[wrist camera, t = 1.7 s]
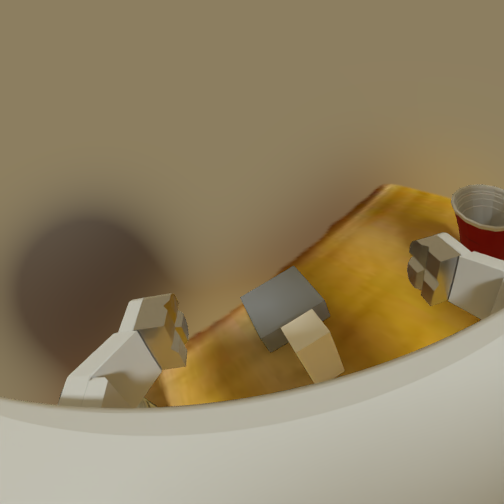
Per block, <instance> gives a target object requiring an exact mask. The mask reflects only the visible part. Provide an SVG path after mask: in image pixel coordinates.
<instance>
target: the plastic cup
mask: <svg viewBox="0 0 504 504" xmlns="http://www.w3.org/2000/svg"><path fill="white" fill-rule="evenodd" d="M451 204H452V207H453V209H454V211H455V214H456V217H457V223H458V227H459V233H460V241H461V244H462V245H463V246H465V247H466V248H467V249H468V250H470V251H471V252H473V251H475V252H478V253H481V254H485V255H488V256H491V257H494V258H497V259H500V260H503V261H504V190H502V189H500V188H497V187H495V186H488V185H469V186H466V187H463V188H460V189H459V190H457V191H456V192H455V193H454V194H453V196H452V200H451Z"/></svg>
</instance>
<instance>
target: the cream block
mask: <svg viewBox="0 0 504 504" xmlns="http://www.w3.org/2000/svg"><path fill="white" fill-rule="evenodd" d="M281 330H282V331H283V333H284V335H285V336H286V338H287V340H288V341H289V343H290V345H291V346H292V348H293V350H294V351H295V353H296V354H297V356H298V358H299V359H300V361H301V363H302V364H303V366H304V368H305V369H306V371H307V373H308V374H309V376H310V377H311V379H312V381H313V382H314V384H315V383H319V382H323V381H327V380H330V379H333V378H335V377H336V376H338V375H340V374H341V373H343V372H344V371H345V370H344V367H343V364H342V362H341V359H340V356H339V354H338V351H337V348H336V346H335V343H334V341H333V338H332V335H331V333H330V331H329V330H328V328H327V327H326V326H325V325H324V323H323V322H322V321H321V319H320V318H319V317H318V316H317V314H316V313H315V312H314V311H313V309H311V310H309V311H307V312H306V313H304V314H303V315H301V316H299V317H298V318H296V319H294V320H293V321H291V322H289V323H288V324H286V325H284V326H283V327H281Z"/></svg>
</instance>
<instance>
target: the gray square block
mask: <svg viewBox="0 0 504 504" xmlns="http://www.w3.org/2000/svg"><path fill="white" fill-rule="evenodd" d="M240 298H241V300H242V302H243V304H244V306H245V308H246V310H247V312H248V314H249V317H250V319H251V321H252V323H253V325H254V327H255V329H256V331H257V333H258V335H259V337H260V339H261V340H262V341H263V343H264V344H265V346H266V347H267V348H268V350H269V351H270V353H271V352H273V351H274V350H276V349H278V348H280V347H281V346H283V345H285V344H286V343H288V342H289V341H288V340H287V338H286V336H285V335H284V333H283V331H282V330H281V327H283V326H284V325H286V324H288V323H289V322H291V321H293V320H294V319H296V318H298V317H299V316H301V315H303V314H304V313H306V312H307V311H309V310H311V309H313V311H314V312H315V313H316V314H317V316H318V317H319V318H320V319H321V321H324V320H325V319H327V318H328V317H330V314H329V311H328V308H327V306H326V303H325V300H324V299H323V298H322V297H321V296H320V294H319V293H318V292H317V291H316V290H315V289H314V288H313V287H312V285H311V284H310V283H309V282H308V281H307V280H306V279H305V278H304V276H303V275H302V274H301V273H300V272H299V271H298V270H297V269H296V267H295V266H292V267H291V268H289V269H287V270H286V271H284V272H282V273H281V274H279V275H277V276H276V277H274V278H272V279H271V280H269V281H267V282H266V283H264V284H262V285H260V286H259V287H257V288H255V289H254V290H252V291H250V292H249V293H247V294H245V295H244V296H242V297H240Z"/></svg>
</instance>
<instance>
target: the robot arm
mask: <svg viewBox="0 0 504 504" xmlns="http://www.w3.org/2000/svg"><path fill="white" fill-rule="evenodd" d="M409 252H410V254H411V256H412V257H411V259H410V261H409V262H408V268H407V272H408V277H409V280H410V282H411V284H412V285H413V286H414V287H415V288H417V289H420V290H421V296H422V297H423V298H424V299H425V300H426V302H427V303H428V304H429V305H430V306H433V305H436V304H439V303H442V302H444V301H447V300H448V301H449V302H451V303H452V304H454V305H456V306H458V307H460V308H462V309H463V310H465V311H467V312H469V313H471V314H472V315H474V316H476V317H478V318H479V319H481V321H479V322H477V323H475V324H473V325H471V326H469V327H467V328H465V329H463V330H461V331H459V332H457V333H455V334H453V335H451V336H449V337H446V338H444V339H442V340H440V341H437V342H435V343H433V344H431V345H428V346H426V347H424V348H421V349H419V350H416V351H414V352H411V353H409V354H406V355H404V356H401V357H398V358H396V359H393V360H390V361H387V362H385V363H382V364H379V365H376V366H373V367H370V368H367V369H364V370H361V371H357V372H354V373H351V374H348V375H344V376H341V377H337V378H334V379H330V380H327V381H323V382H319V383H315V384H311V385H307V386H303V387H299V388H294V389H290V390H285V391H280V392H275V393H270V394H265V395H260V396H254V397H248V398H242V399H235V400H229V401H221V402H213V403H205V404H195V405H184V406H171V407H152V408H137V406H138V405H139V403H140V402H141V401H142V399H143V398H144V396H145V395H146V393H147V392H148V390H149V389H150V388H151V386H152V385H153V383H154V382H155V380H156V379H157V377H158V376H159V375H160V373H161V372H162V371H161V370H165V369H172V368H179V367H186V359H187V349H186V347H185V344H186V343H187V341H188V335H189V334H188V326H187V322H186V319H185V317H184V314H183V313H182V312H180V311H178V305H179V303H178V300H177V298H176V296H175V295H174V294H173V293H171V294H165V295H158V296H152V297H146V298H140V299H135V300H131V301H130V302H129V304H128V307H127V309H126V313H125V315H124V318H123V320H122V323H121V326H120V329H119V332H118V333H114V334H113V335H112V336H111V337H110V338H109V339H108V340H107V341H105V342H104V343H103V344H102V345H101V346H100V347H99V348H98V349H97V350H96V351H95V352H94V353H92V354H91V355H90V356H89V357H88V358H87V359H86V360H85V361H84V362H83V363H82V364H81V365H80V366H79V367H78V368H77V369H76V370H74V371H73V372H72V373H71V374H70V375H69V376H68V378H67V380H66V383H65V386H64V388H63V391H62V394H61V397H60V400H59V403H58V405H52V404H43V403H35V402H28V401H22V400H16V399H10V398H5V397H0V504H504V261H503V260H500V259H497V258H494V257H491V256H488V255H485V254H481V253H478V252H475V251H473V252H471V251H470V250H468V249H467V248H466V247H465V246H463V245H462V244H461V243H460V242H458V241H457V240H456V239H454V238H453V237H452V236H450V235H449V234H448V233H445V232H442V233H439V234H436V235H433V236H430V237H426V238H423V239H419V240H415V241H412V243H411V245H410V250H409Z"/></svg>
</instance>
